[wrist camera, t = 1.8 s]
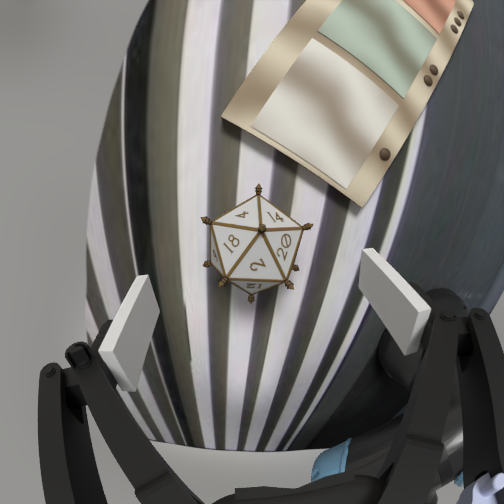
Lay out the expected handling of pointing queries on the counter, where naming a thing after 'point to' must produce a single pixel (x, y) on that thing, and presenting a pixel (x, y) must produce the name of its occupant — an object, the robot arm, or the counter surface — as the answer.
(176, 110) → the counter surface
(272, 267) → the game die
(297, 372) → the counter surface
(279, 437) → the counter surface
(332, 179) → the board
